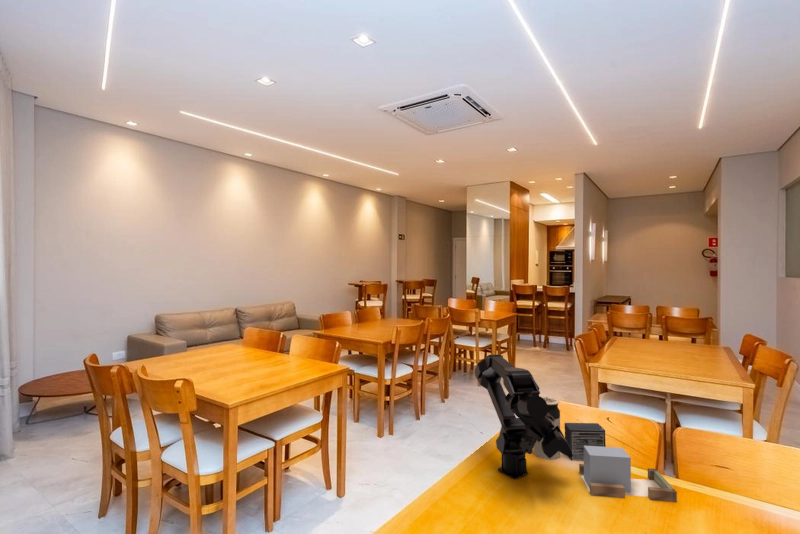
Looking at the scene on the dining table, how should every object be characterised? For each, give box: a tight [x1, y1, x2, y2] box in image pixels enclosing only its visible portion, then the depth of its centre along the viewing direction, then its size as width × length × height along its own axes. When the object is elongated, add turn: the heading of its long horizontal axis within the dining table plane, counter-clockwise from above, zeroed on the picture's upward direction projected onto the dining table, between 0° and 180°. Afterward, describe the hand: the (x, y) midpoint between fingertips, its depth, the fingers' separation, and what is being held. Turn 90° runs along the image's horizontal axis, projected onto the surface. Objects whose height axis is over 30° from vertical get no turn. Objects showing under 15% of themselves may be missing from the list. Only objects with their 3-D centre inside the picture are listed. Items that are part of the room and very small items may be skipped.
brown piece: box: [578, 463, 678, 503], centre depth 111 cm, size 20×22×4 cm
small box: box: [564, 422, 607, 462], centre depth 129 cm, size 11×6×10 cm, turn 84°
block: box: [583, 446, 632, 492], centre depth 112 cm, size 10×6×9 cm, turn 80°
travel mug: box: [532, 395, 561, 461], centre depth 131 cm, size 8×8×18 cm
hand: (571, 456), depth 113 cm, fingers closed
